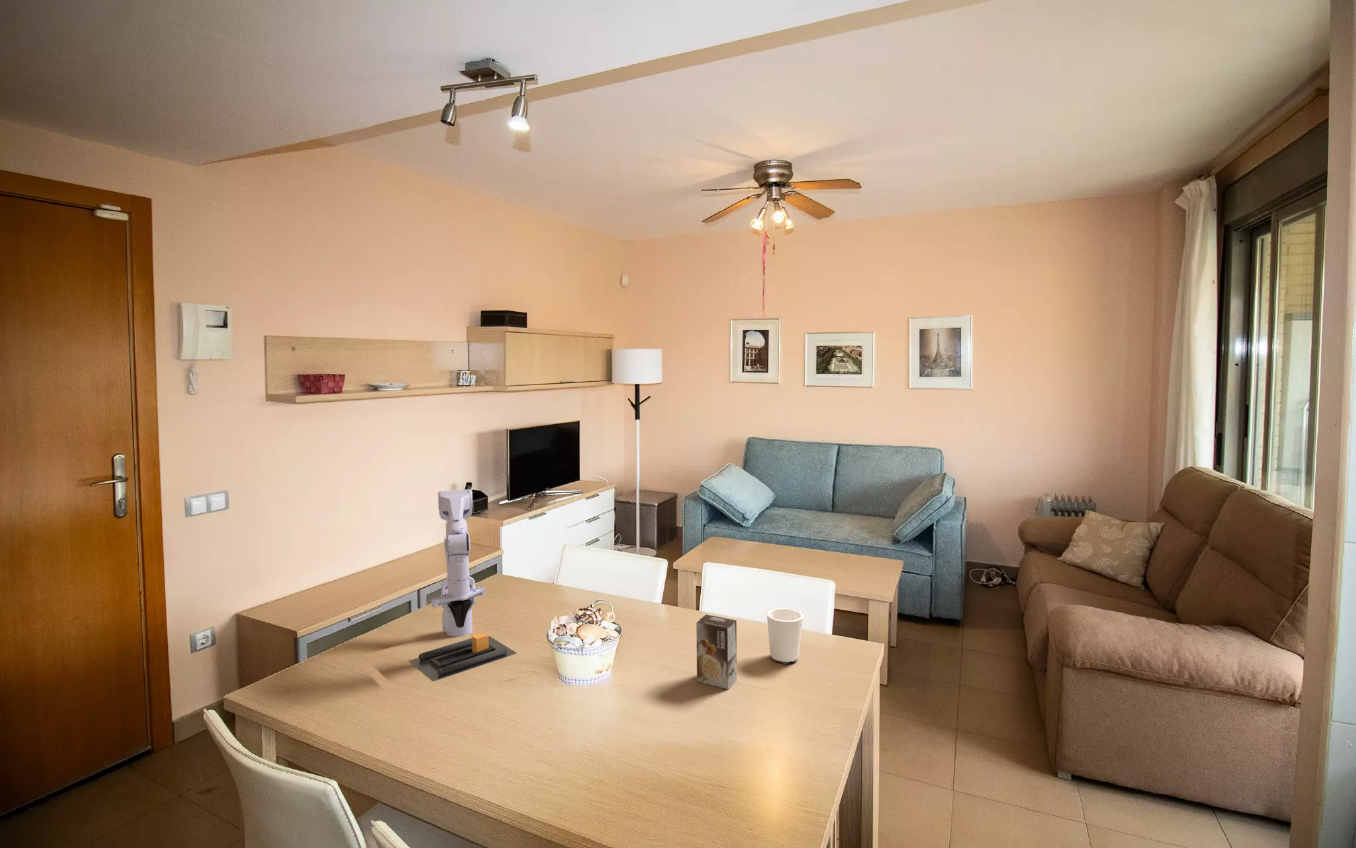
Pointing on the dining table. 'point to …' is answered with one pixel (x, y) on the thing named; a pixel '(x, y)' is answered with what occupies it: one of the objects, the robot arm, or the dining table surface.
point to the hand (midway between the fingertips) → (459, 626)
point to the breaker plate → (457, 659)
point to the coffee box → (716, 651)
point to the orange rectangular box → (480, 642)
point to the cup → (784, 634)
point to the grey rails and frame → (462, 663)
